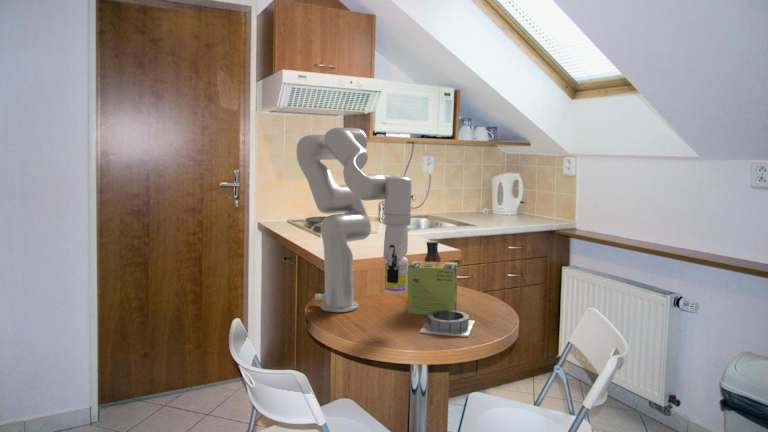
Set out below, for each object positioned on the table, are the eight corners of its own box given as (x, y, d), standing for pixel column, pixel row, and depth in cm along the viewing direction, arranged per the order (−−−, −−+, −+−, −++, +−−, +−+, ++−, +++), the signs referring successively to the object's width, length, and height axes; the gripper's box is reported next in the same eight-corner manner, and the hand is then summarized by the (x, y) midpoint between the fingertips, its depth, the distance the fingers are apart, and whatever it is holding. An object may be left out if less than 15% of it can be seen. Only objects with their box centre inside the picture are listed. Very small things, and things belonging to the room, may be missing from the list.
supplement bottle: (389, 287, 166) (390, 245, 164) (410, 289, 163) (411, 247, 161) (381, 293, 160) (382, 249, 158) (402, 295, 157) (403, 252, 155)
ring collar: (419, 332, 158) (419, 320, 158) (430, 318, 171) (430, 307, 171) (468, 337, 154) (468, 324, 153) (474, 322, 167) (475, 311, 167)
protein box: (455, 316, 173) (455, 268, 172) (407, 314, 177) (407, 267, 175) (457, 307, 184) (457, 262, 182) (412, 305, 187) (412, 260, 185)
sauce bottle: (440, 292, 204) (441, 239, 201) (443, 296, 197) (443, 242, 195) (423, 292, 203) (423, 240, 201) (425, 297, 197) (425, 242, 195)
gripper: (393, 214, 168) (391, 271, 170) (376, 223, 151) (374, 285, 154) (417, 216, 165) (415, 273, 168) (402, 224, 149) (400, 288, 152)
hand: (396, 278), depth 161 cm, fingers closed on supplement bottle, 6 cm apart
